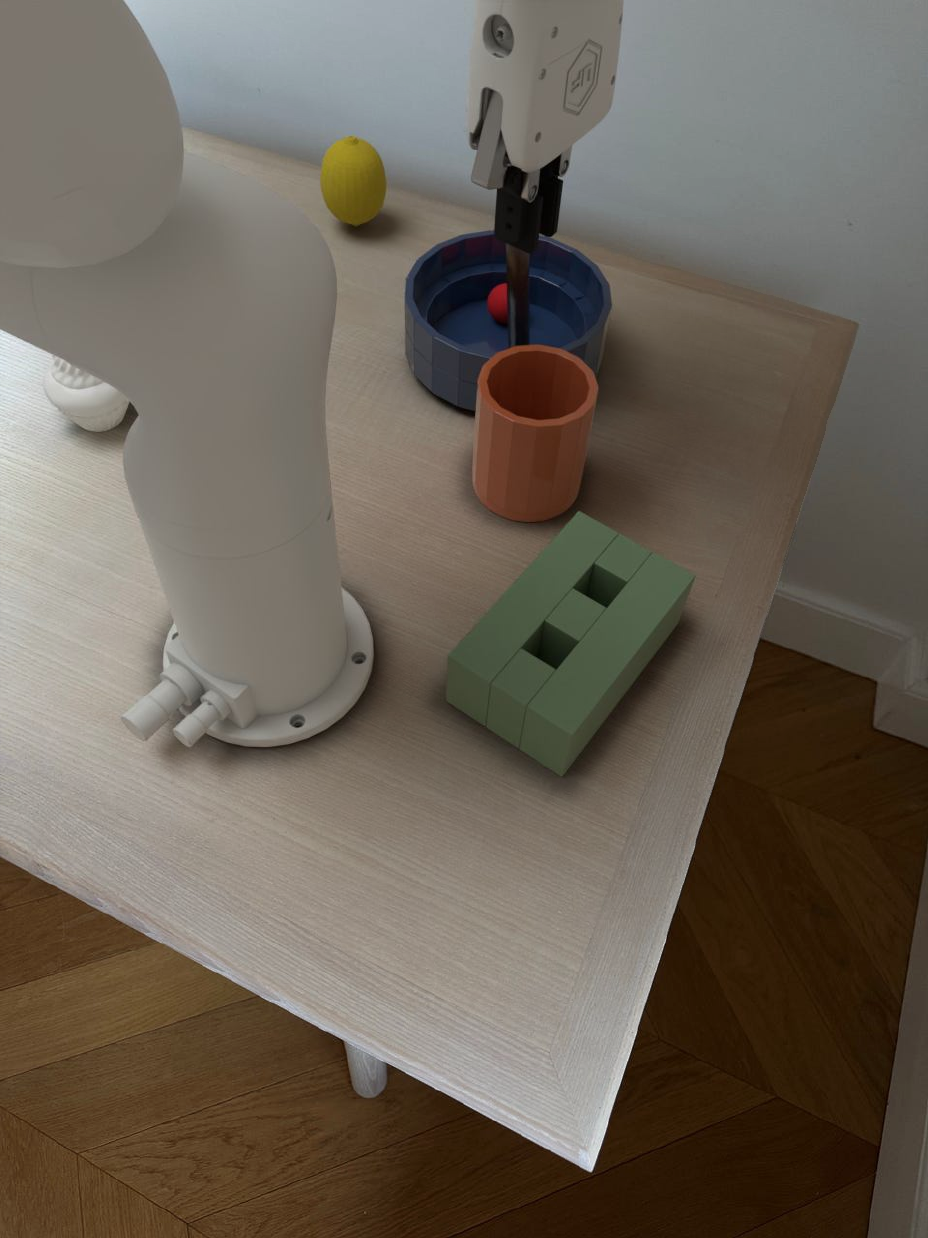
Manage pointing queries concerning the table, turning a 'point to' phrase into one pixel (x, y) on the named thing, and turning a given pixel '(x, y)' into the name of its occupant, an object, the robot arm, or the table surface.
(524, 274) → the stick
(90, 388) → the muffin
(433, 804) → the table surface
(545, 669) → the holder
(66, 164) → the robot arm
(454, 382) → the bowl
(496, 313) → the berry
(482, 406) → the crock
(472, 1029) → the table surface
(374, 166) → the lemon
